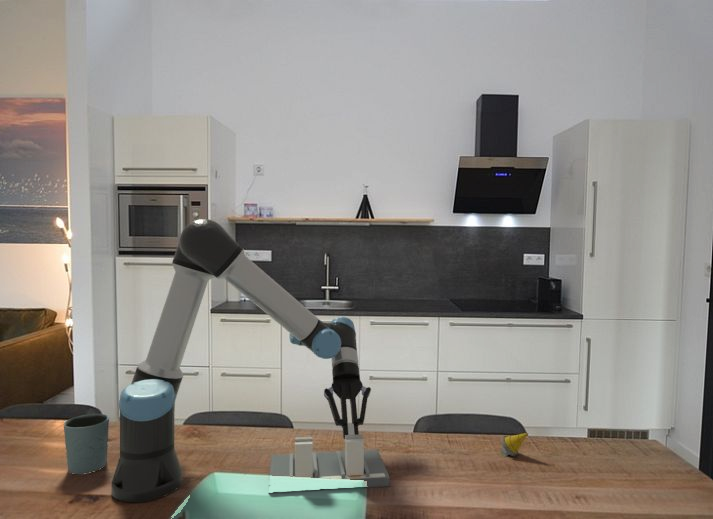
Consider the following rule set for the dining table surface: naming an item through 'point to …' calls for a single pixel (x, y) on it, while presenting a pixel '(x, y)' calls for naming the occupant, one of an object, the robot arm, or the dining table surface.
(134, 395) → the robot arm
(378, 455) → the switch bank
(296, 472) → the tab left
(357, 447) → the tab right
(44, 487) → the dining table surface
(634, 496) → the dining table surface
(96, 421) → the teal cup
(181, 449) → the dining table surface
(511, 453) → the yellow spinning top
